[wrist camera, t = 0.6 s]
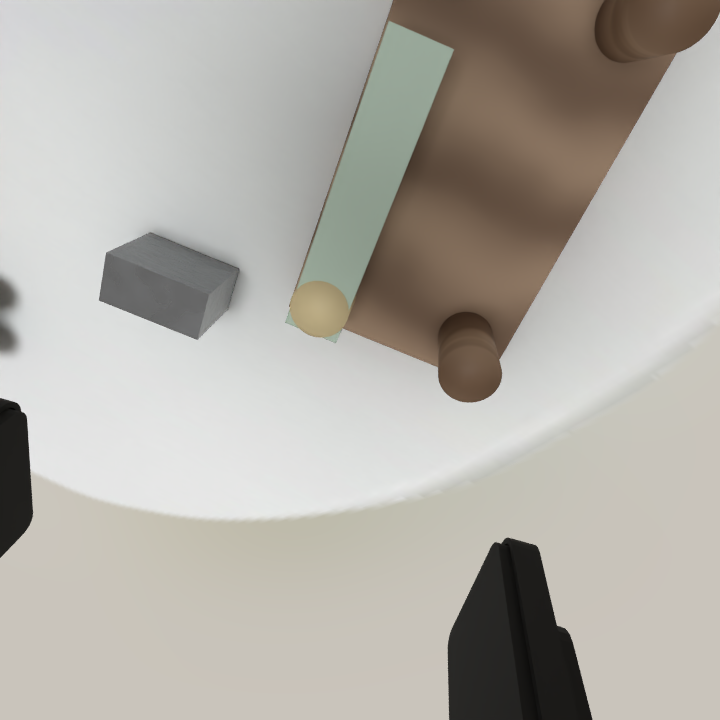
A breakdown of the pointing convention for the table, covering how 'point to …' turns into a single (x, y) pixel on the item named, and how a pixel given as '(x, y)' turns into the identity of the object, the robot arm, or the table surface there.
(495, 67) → the stool seat
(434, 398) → the table surface
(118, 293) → the block
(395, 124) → the folding leg
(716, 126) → the table surface
